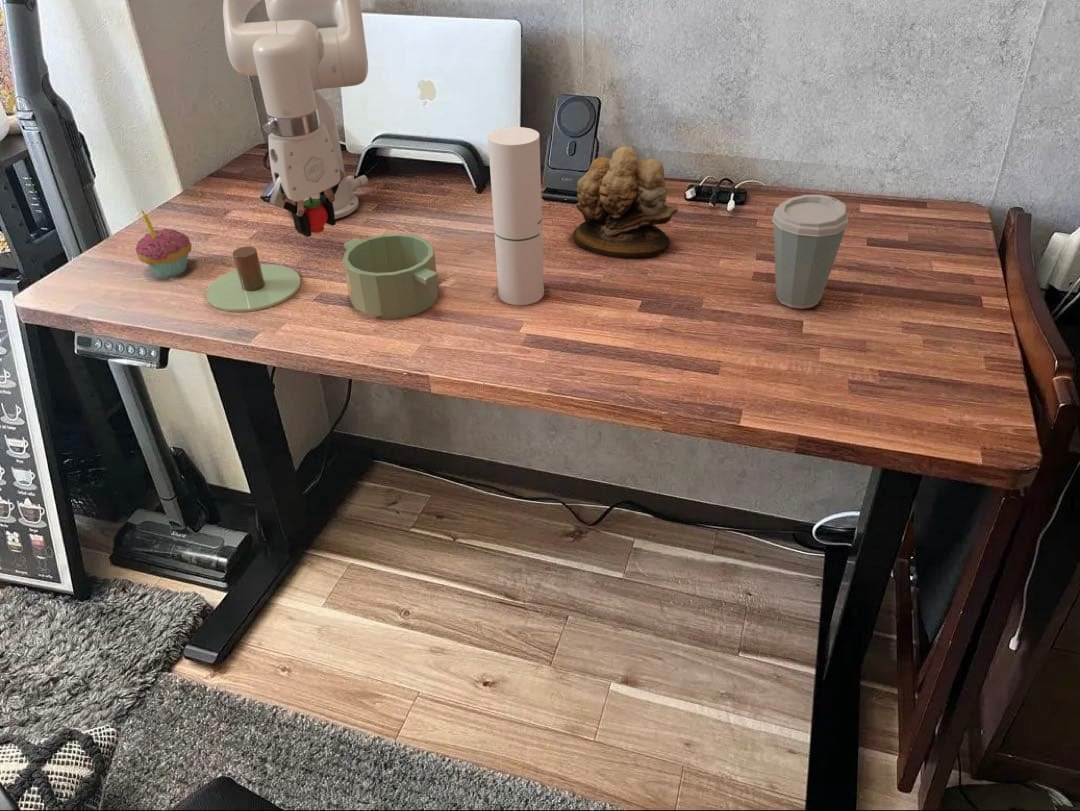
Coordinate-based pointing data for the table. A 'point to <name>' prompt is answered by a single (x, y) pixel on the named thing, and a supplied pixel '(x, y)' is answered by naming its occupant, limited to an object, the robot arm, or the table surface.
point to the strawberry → (315, 214)
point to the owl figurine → (623, 206)
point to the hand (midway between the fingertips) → (316, 227)
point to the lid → (252, 284)
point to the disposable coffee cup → (806, 247)
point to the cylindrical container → (517, 213)
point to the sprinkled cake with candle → (164, 250)
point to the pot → (391, 275)
